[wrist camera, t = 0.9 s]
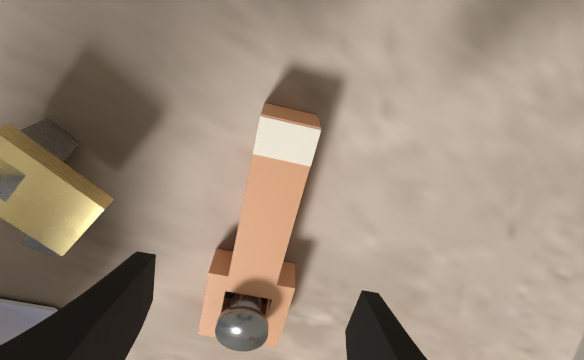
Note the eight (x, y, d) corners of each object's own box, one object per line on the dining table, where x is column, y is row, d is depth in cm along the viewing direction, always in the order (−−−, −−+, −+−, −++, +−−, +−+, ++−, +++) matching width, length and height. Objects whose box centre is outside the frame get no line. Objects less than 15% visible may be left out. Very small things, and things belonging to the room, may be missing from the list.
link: (277, 319, 26) (276, 347, 23) (206, 306, 25) (197, 334, 23) (338, 120, 19) (344, 133, 17) (243, 97, 18) (236, 108, 16)
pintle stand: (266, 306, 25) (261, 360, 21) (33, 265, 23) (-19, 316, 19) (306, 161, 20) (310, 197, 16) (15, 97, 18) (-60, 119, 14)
